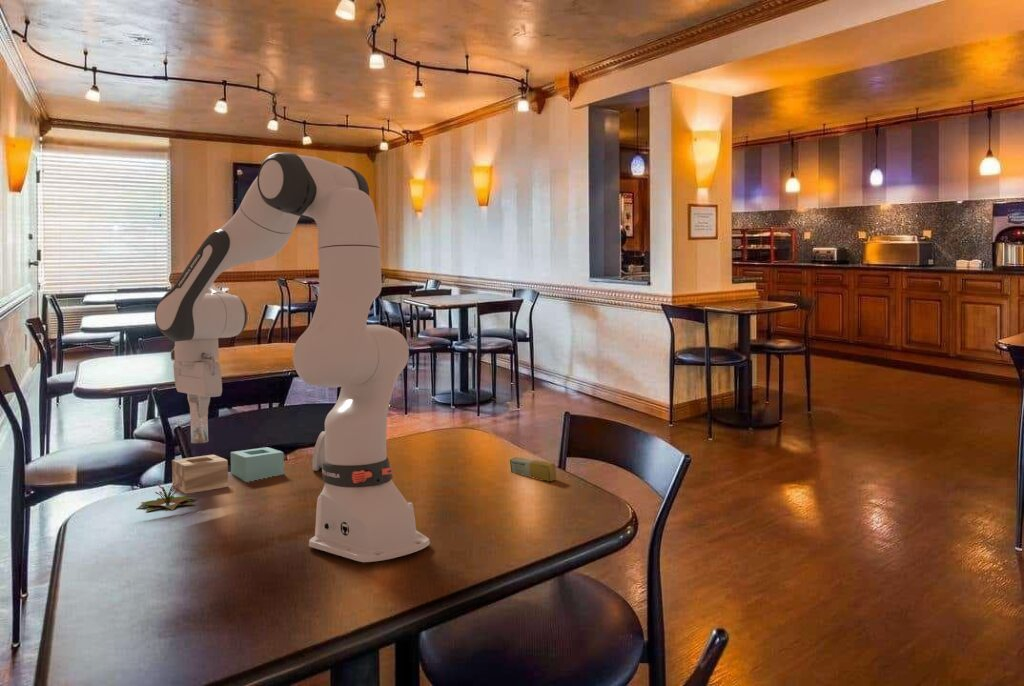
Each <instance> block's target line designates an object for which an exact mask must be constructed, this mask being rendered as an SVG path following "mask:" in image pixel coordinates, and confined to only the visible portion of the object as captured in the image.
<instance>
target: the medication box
mask: <svg viewBox="0 0 1024 686" xmlns="http://www.w3.org/2000/svg"><path fill="white" fill-rule="evenodd" d="M509 464H510V465H509V466H510V472H511V473H513V472H514V473H513V474H516V473H518V474H517V475H520V474H523V475H522V476H524V475H527V476H531V477H534V478H533V479H535V478H538V479H542V480H541V481H543V480H547V481H546V482H549V481H551V482H553V481H554V480H557V472H556V463H555V462H551V461H546V460H536V459H531V458H524V457H518V456H516V457H513V458H511V459H509ZM527 476H526V477H527ZM531 477H530V478H531ZM538 479H537V480H538Z"/></svg>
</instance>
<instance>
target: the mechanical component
mask: <svg viewBox="0 0 1024 686" xmlns="http://www.w3.org/2000/svg"><path fill="white" fill-rule="evenodd" d="M315 442H316V443H315V445H314V449H313V454H312V463H311V464H312V465H311V466H312V471H313V470H314V472H315V471H316V472H317V471H320V469H322V468H323V462H324V461H325V430H324V431H321V432H320V433H319V435H318V437H317V439H316V441H315Z"/></svg>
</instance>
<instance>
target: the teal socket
mask: <svg viewBox="0 0 1024 686" xmlns="http://www.w3.org/2000/svg"><path fill="white" fill-rule="evenodd" d="M284 459H285V458H284V452H283V451H281V450H278V449H275V448H272V447H267V446H266V447H259V448H251V449H245V450H244V449H242V450H236V451H230V474H232V475H233V476H235V477H236V478H238V479H239V480H240V481H241V480H242V481H243V482H245V483H246V482H248V483H250V482H249V481H252V482H255V481H254V480H257V481H259V480H258V479H261V480H264V479H263V478H265V479H268V477H270V478H273V477H272V476H274V477H278V476H283V475H284V474H285V468H284V467H285V465H284Z"/></svg>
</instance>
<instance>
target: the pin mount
mask: <svg viewBox="0 0 1024 686" xmlns="http://www.w3.org/2000/svg"><path fill="white" fill-rule="evenodd" d="M228 464H229V461H228V459H226V458H224V457H221V456H219V455H216V454H207V455H206V454H205V455H201V456H200V455H199V456H193V457H185V458H177V459H171V468H172V469H171V470H172V471H171V472H172V473H171V475H172V482H171V483H172V484H173V483H174V482H175V483H174V485H175V486H176V485H177V484H179V485H177V486H176V487H175V488H174V489H176V488H177V490H178V491H180V492H182V493H183V494H186V495H188V494H193V493H199V492H206V491H211V490H214V489H215V490H216V489H222V488H223V489H224V488H227V487H229V469H228V468H229V465H228Z"/></svg>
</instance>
